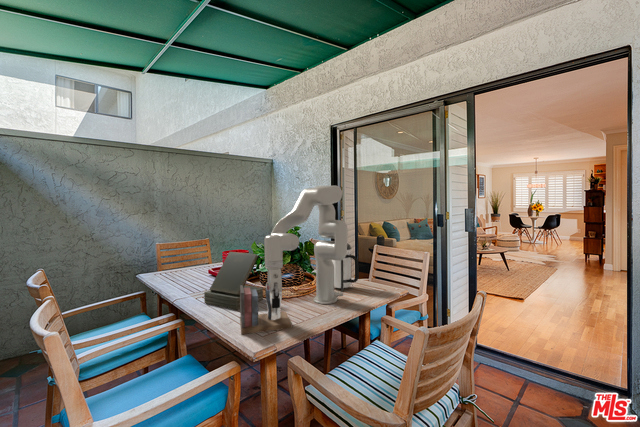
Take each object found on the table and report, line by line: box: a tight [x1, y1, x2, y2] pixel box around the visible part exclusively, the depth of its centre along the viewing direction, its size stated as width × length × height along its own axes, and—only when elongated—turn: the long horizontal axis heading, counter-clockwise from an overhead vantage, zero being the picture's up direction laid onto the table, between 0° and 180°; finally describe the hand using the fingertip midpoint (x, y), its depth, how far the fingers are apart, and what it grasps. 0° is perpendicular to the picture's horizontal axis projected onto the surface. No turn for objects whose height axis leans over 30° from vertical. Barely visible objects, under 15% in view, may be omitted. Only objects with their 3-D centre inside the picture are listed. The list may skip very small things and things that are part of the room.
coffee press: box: [332, 242, 360, 293], centre depth 178 cm, size 17×16×30 cm
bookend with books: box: [239, 285, 293, 335], centre depth 126 cm, size 20×14×16 cm
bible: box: [203, 251, 265, 311], centre depth 157 cm, size 23×20×25 cm
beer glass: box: [264, 282, 283, 321], centre depth 127 cm, size 7×7×15 cm
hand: (274, 304), depth 127 cm, fingers open, 9 cm apart
